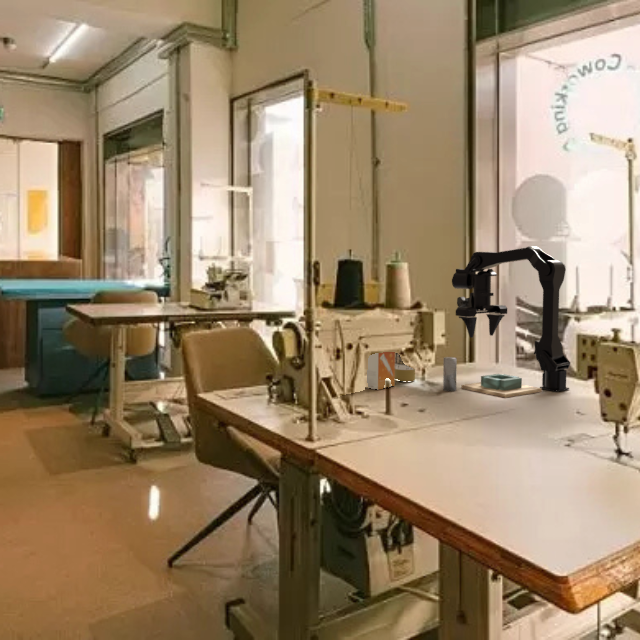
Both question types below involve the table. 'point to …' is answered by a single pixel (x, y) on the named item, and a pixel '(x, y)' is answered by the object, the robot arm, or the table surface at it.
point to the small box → (380, 369)
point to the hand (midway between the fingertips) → (481, 336)
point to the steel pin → (449, 373)
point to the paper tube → (403, 370)
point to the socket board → (501, 392)
